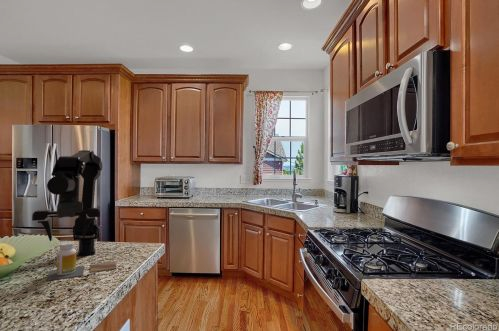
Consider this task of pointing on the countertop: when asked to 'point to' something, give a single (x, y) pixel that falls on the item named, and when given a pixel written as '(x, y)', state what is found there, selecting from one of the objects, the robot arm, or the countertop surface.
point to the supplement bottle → (66, 259)
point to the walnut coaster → (103, 266)
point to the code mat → (55, 276)
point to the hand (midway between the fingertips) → (67, 239)
